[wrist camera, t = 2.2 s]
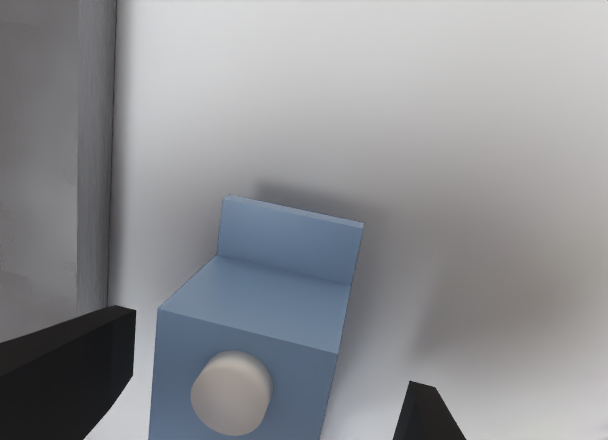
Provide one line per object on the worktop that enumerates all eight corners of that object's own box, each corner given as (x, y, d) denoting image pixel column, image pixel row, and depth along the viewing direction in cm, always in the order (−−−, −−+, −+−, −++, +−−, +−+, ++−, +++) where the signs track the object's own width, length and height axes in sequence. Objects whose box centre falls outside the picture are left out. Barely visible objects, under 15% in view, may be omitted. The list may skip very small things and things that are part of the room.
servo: (314, 447, 15) (274, 646, 9) (217, 419, 15) (124, 594, 10) (366, 208, 12) (351, 294, 7) (247, 183, 12) (145, 245, 7)
